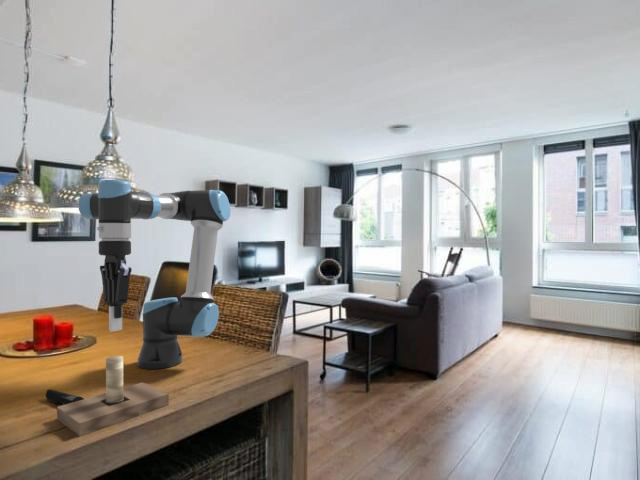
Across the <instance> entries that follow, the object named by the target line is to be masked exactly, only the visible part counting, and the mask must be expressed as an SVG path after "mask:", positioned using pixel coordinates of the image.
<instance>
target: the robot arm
mask: <svg viewBox="0 0 640 480" xmlns="http://www.w3.org/2000/svg"><path fill="white" fill-rule="evenodd" d="M97 191H98V193H97V192H92V193H85V194H83V195H81V197H80V198H79V200H78V205H77V207H78V212H79V214H80V215H81V216H82V217H83V218H85V219H88V220H98V227H96V230H97V231H98V238H99V241H98V255H100V256H104V261H103V262H104V264H103V265H100V266H99V271H100V273H101V280H102V290H103V299H104V300H103V301H104V302H105V303H106V304H107V306H108V331H109V332H110V333H113V332H116V331H122V330H123V306H124V305H125V304H127V302H128V296H129V287H130V277H131V274H132V267H131V266H129V267H127V259H126V256H129V255H131V254H132V242H131V241H130V240H129V239H132V221H131V220H134V219H135V220H136V219H138V220H140V219H141V220H152V219H155V218H156V217H157V218H161V219H163V220H177V221H185V222H186V221H187V222H190V224H191V226H192V227H193V234H192V235H193V236H192V242H191V243H192V244H191V249H190V250H191V251H190V255H189V256H190V257H189V258H190V259H189V264H188V273H187V281H186V288H185V292H184V293H183V294H182V295H181V296H180V300H179V299H178V297H173V296H172V297H165V298H159V299H153V300H149V301H145V302H144V304H143V307H142V308H143V309H142V314H141V316H142V345H141V348H140V351H139V353H138V357H137V366H138V367H139V368H142V369H145V370H159V369H166V368H170V367H171V368H172V367H174V366H177V365H179V364H181V363H182V362H183V352H182V348H181V346H180V344H179V341H178V336H184V337H196V338H199V337H207V336H210V335H211V334H212V333H213V331H215V329H216V327H217V325H218V322H219V316H220V311H219V306H218V305H217V304H216V303H215V299H214V297H213V296H212V294H211V291H212V284H213V283H212V282H213V275H214V274H213V273H214V267H215V257H216V249H217V241H218V232H219V230H221V229H222V228H223V226H224V225H223V224H224V222H227V221H229V219H230V216H231V204H230V202H229V198H228V196H227V194H226V193H225V192H224V191H222V190H219V189H204V190H182V191H176V192H163V193H161V194H159V195H158V194H157V195H156V194H152V193H149V192H142V191H135V190H132V188H131V183H130V182H129V181H127V180H122V179H103V180H100V181H99V183H98V190H97ZM100 239H101V240H100Z"/></svg>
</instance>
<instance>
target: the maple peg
mask: <svg viewBox="0 0 640 480" xmlns="http://www.w3.org/2000/svg"><path fill="white" fill-rule="evenodd" d="M123 388H124V356H122V355H114V356H109V357H107V358H106V359H105V393H106V405H107V406H112V405H115V404H118V403H121V402H123V401H124V397H123Z"/></svg>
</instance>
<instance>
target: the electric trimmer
mask: <svg viewBox="0 0 640 480" xmlns="http://www.w3.org/2000/svg"><path fill="white" fill-rule="evenodd" d="M45 399H46V400H48V401H50V402H52V403H54V404H55V405H66V404H69V403H73V402H76V401H79V400H83V399H85V398H84V397H82V396H80V395H79V396H78V395H77V396H76V395H74V394H73V395H72V394H70V393H66V392H62V391H59V390H55V389H47V390H46V393H45Z"/></svg>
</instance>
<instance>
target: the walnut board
mask: <svg viewBox="0 0 640 480" xmlns="http://www.w3.org/2000/svg"><path fill="white" fill-rule="evenodd" d="M123 397H124V401H123V402H121V403H118V404H115V405H112V406H107V405H106V392H104V393H99V394H97V395H93V396H90V397H87V398H84V399H83V400H79V401H76V402H73V403H69V404H66V405H63V404H61V405H59V406H57V407H56V419H57V421H59V422H60V423H62V424H63V425H64V426H65V427H67V428H68V429H69V430H70V431H72V432H73V433H74V434H76V435H77V436H78V437H82V436H85V435H88V434H90V433H91V434H92V433H94V432H96V431H99V430H102V429H105V428H107V427H110V426H113V425H116V424H119V423H121V422H124V421H127V420H130V419H132V418H133V419H134V418H136V417H139V416H141V415H144V414H147V413H150V412H153V411H155V410H156V411H157V410H158V409H162V408H164V407H167V406H169V405H170V404H169V398H170V397H169V393H167V392H165V391H163V390H161V389H159V388H157V387H154V386H152V385H150V384H147V383H145V382H139V383H138V382H137V383H135V384H132V385H128V386H125V387H124V386H123Z"/></svg>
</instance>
